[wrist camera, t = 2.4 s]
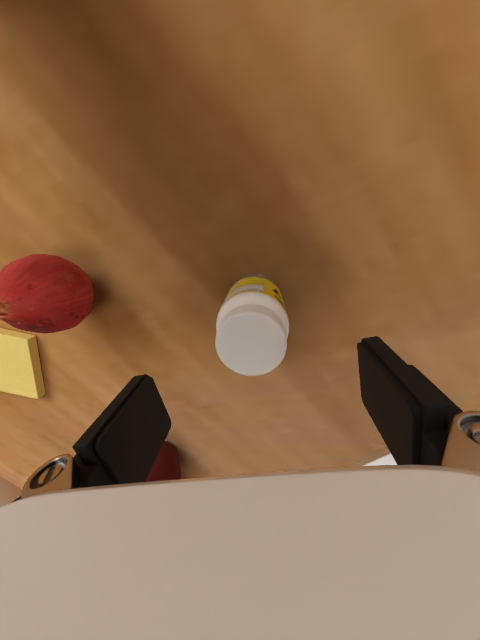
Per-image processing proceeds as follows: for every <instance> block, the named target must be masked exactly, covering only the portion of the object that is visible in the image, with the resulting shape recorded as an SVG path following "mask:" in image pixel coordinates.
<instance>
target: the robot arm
mask: <svg viewBox="0 0 480 640" xmlns="http://www.w3.org/2000/svg"><path fill="white" fill-rule="evenodd" d="M357 350H358V362H359V374H360V386H361V397H362V401H363V404H364V406H365V407H366V409H367V411H368V413H369V415H370V416H371V418H372V420H373V422H374V424H375V425H376V427H377V429H378V431H379V432H380V434H381V436H382V438H383V440H384V441H385V443H386V445H387V447H388V449H389V450H390V452H391V454H392V456H393V457H394V459H395V461H396V463H397V465H381V466H360V467H343V468H325V469H311V470H297V471H283V472H269V473H254V474H241V475H228V476H215V477H202V478H189V479H176V480H164V481H152V482H145V481H146V479H147V477H148V475H149V473H150V470H151V468H152V466H153V464H154V462H155V460H156V458H157V456H158V453H159V451H160V449H161V447H162V445H163V443H164V441H165V439H166V436H167V434H168V432H169V430H170V428H171V419H170V417H169V415H168V412H167V410H166V408H165V406H164V403H163V401H162V399H161V396H160V394H159V392H158V389H157V387H156V385H155V383H154V380H153V378H152V377H149V376H148V375H147V374H145V375H139V376H134V377H133V378H132V379H131V380H130V382H129V383H128V384H127V385H126V386H125V387H124V388H123V390H122V391H121V392H120V393H119V394H118V395H117V396H116V398H115V399H114V400H113V401H112V402H111V403H110V404H109V406H108V407H107V408H106V409H105V410H104V411H103V412H102V413H101V415H100V416H99V417H98V418H97V419H96V420H95V421H94V423H93V424H92V425H91V426H90V427H89V428H88V429H87V431H86V432H85V433H84V434H83V435H82V436H81V437H80V439H79V440H78V441H77V442H76V443H75V444H74V445H73V449H74V450H75V452H76V453H77V454H76V455H75V457H74V458H73V457H72V456H71V455H70V454H63V455H59V456H57V457H55V458H52V459H51V460H49V461H47V462H46V463H44V464H43V465H42V466H40V467H39V468H38V469H37V470H36V471H35V472H34V473H33V474H32V475H31V476H30V477H29V478H28V480H27V481H26V483H25V485H24V487H23V491H22V495H21V496H20V497H19V498H17V499H16V500H14V501H12V502H11V503H9V504H7V505H5V506H3V507H0V640H480V411H466V412H463V411H462V410H461V409H460V408H459V407H458V406H456V405H455V404H454V403H453V402H452V401H451V400H450V399H449V398H448V397H447V396H446V395H445V394H444V393H442V392H441V391H440V390H439V389H438V388H437V387H436V386H435V385H434V384H433V383H432V382H431V381H430V380H428V379H427V378H426V377H425V376H424V375H423V374H422V373H421V372H420V371H419V370H418V369H417V368H416V367H414V366H413V365H407V364H406V363H405V362H404V361H403V360H402V359H401V358H400V357H399V356H398V355H397V354H396V353H395V352H394V351H393V350H392V349H391V348H390V347H389V346H388V345H387V344H386V343H384V342H383V341H382V340H381V339H380V338H379V337H378V336H375V337H369V338H363V339H362V341H361V343H358V344H357Z"/></svg>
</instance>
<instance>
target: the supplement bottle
mask: <svg viewBox="0 0 480 640" xmlns="http://www.w3.org/2000/svg"><path fill="white" fill-rule="evenodd" d="M216 331H217V334H216V339H215V346H216V351H217V354H218V356H219V358H220V359H221V361H222V362H223V363H224V364H225V365H226V366H227V367H228V368H229V369H231V370H232V371H234V372H236V373H239V374H242V375H248V376H257V375H262V374H266V373H268V372H270V371H272V370H273V369H275V368H276V367H277V366H278V365H279V364H280V363H281V361H282V360H283V358H284V356H285V353H286V350H287V338H288V334H289V321H288V316H287V313H286V309H285V305H284V302H283V298H282V295H281V292H280V290H279V288H278V286H277V285H276V284H275V283H274V282H273V281H272V280H271V279H269V278H267V277H265V276H262V275H248V276H245V277H242V278H241V279H239V280H238V281H236V282H235V283H234V284H233V286H232V287H231V289H230V291H229V293H228V294H227V297H226V299H225V301H224V303H223V305H222V307H221V309H220V311H219V313H218V316H217V321H216Z"/></svg>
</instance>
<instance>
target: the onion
mask: <svg viewBox="0 0 480 640" xmlns="http://www.w3.org/2000/svg"><path fill="white" fill-rule="evenodd" d="M93 299H94V293H93V287H92V284H91V282H90V280H89V278H88V276H87V275H86V274H85V273H84V272H83V271H82V270H81V269H80V268H79V267H78V266H77V265H75V264H73V263H72V262H70V261H68V260H66V259H64V258H61V257H59V256H54V255H46V254H36V255H30V256H27V257H24V258H21V259H18V260H16V261H13V262H11V263H9V264H8V265H6V266H5V267H4V268H3V269H2V271H1V272H0V319H2V320H3V321H5V322H6V323H8V324H10V325H11V326H13V327H15V328H18V329H21V330H25V331H31V332H37V333H54V332H58V331H62V330H67V329H70V328H72V327H75V326H77V325H78V324H79V323H80V322H81V321H83V319H84V318H85V317H86V316H87V315H88V314H89V313H90V312H91V309H92V304H93Z"/></svg>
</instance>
